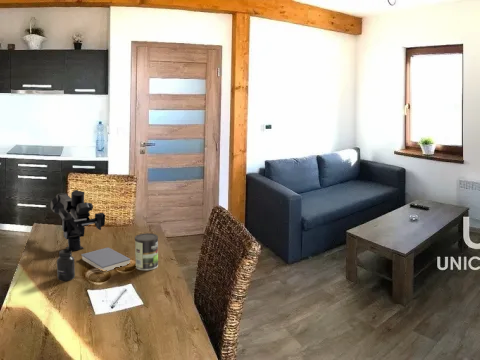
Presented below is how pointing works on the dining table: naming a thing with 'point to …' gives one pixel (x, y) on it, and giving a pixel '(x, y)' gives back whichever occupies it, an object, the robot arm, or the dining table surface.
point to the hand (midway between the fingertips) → (90, 230)
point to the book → (105, 259)
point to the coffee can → (146, 251)
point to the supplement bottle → (65, 266)
